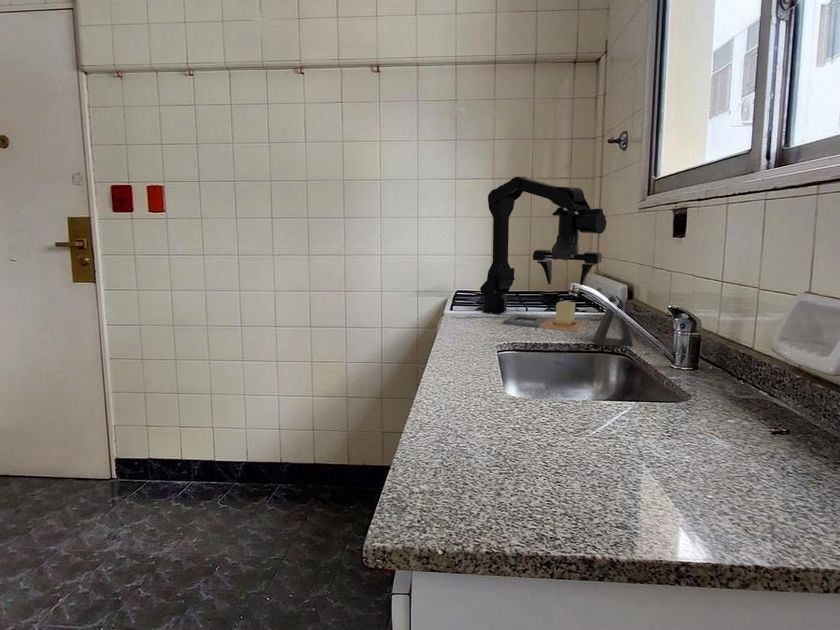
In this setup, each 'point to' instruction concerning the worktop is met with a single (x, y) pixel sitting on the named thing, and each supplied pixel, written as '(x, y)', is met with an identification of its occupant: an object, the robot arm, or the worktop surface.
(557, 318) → the wooden block
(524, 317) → the frame with rectangular openings
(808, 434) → the worktop surface
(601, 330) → the phone stand
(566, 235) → the robot arm
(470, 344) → the worktop surface
